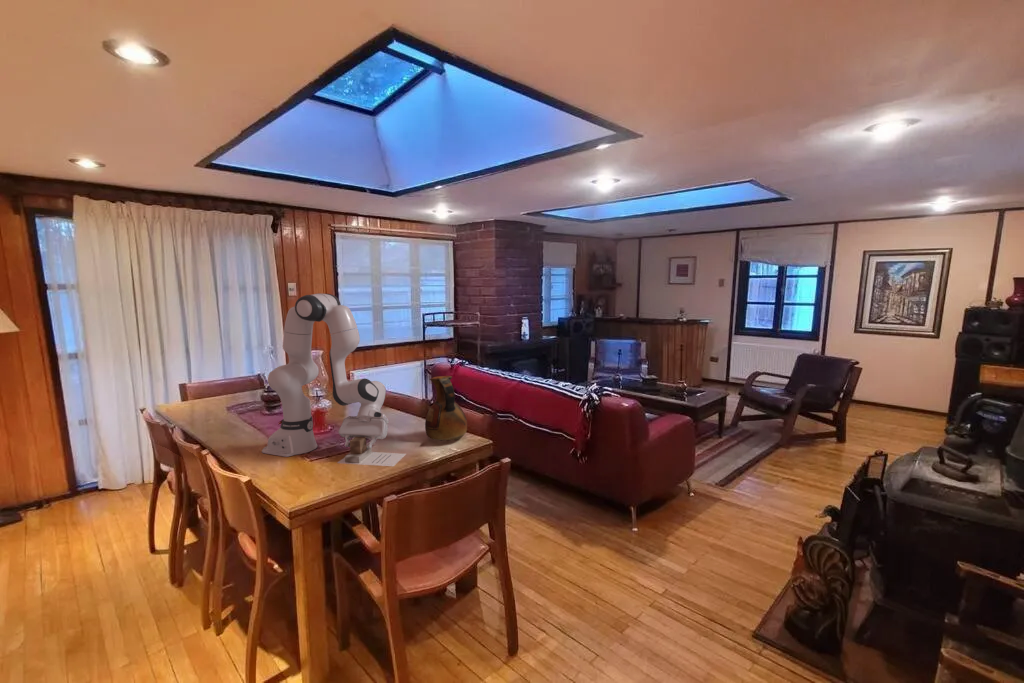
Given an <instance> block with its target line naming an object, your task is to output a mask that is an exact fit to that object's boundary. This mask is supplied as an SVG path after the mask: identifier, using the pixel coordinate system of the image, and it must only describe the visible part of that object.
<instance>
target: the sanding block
mask: <svg viewBox="0 0 1024 683" xmlns="http://www.w3.org/2000/svg"><path fill="white" fill-rule="evenodd" d="M349 442H350V447H349V449H350V450H349V451H350V452H349V453H348V454H346V455H345V456H344V457H345V462H347V463H360V462H361V461H363V460H364V459H365V458H366V457H367V456H369V455H370V454H371V453H372V452H373V449H372V448H373V446H372V447H371V448H367V447H366V446H367V438H366V437H355V438H352V439H350V440H349Z"/></svg>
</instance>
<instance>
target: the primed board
mask: <svg viewBox="0 0 1024 683" xmlns="http://www.w3.org/2000/svg"><path fill="white" fill-rule="evenodd" d="M405 456H407V453H397V452H380V451H379V452H378V451H372V453H371V454H370V455H369V456H367V457H366V458H365V459H364V460H363V461H361V462H360V463H347V462H345V456H344V457H343V458H341V459H339V461H337V464H346V465H361V466H362V465H365V466H377V467H378V466H380V467H381V466H382V467H395V466H396V465H397V464H398V463H399V462H401V460H402V459H403V458H404V457H405Z"/></svg>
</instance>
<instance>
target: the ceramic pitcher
mask: <svg viewBox="0 0 1024 683" xmlns="http://www.w3.org/2000/svg"><path fill="white" fill-rule="evenodd" d="M452 378H453V376H452V375H441V376H440V375H439V376H434V377H432V378H429V380H430V381H431V382H432V384H434V387H435V391H436V400H435V402H434V403H433V404H432V405H431V406H430V408H429V410H428V411H427V414H426V416H425V420H424V421H425V422H424V429H425V434H426V436H427V438H429V439H431V440H436V441H451V440H459V439H461V438H463V437H464V436H465V434H466V433H467V431H468V420H467V416H466V414H465V411H464V410H463V408H462V407H461V406H460V405H459V403H457V402H456V401H455V395H456V394H455V389H454V386H453V383H452V381H451V379H452Z"/></svg>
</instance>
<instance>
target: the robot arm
mask: <svg viewBox="0 0 1024 683" xmlns="http://www.w3.org/2000/svg"><path fill="white" fill-rule="evenodd" d="M315 322H317V323H319V322H325V323H326V325H327V326H328V329H329V334H330V340H331V345H330V346H331V347H330V349H329V352H328V353H329V363H330V371H331V372H330V373H331V380H332V398H333V399H334V401H335V403H337V404H338V405H339V406H345V407H346V406H348V405H352V404H357V403H359V404H360V407H359V409H358V413H357V415H354V416H353V415H348V416H346V417H344V418H343V421H342V423H341V425H340V427H339V429H338V435H339V436H340V437H342V438H344V439H345V444H344V446H345V447H346V448H350V440H351V438H352V439H353V438H355V437H366V439H371V440H370V441H369V442H366V447H367V448H371V447H372V448H373V445H374V444H375V443H376V442H377V440H384V439H386V437H387V434H388V431H389V426H388V424H389V421H390V420H389V419H388V417H387V416H386V414H384V413H383V412H381V408H382V407H383V406H384V402H385V399H386V394H387V393H386V392H387V391H386V390H387V388H386V385H385V384H383V382H381V381H378V380H373V381H371V380H369V378H358V379H353V380H348V378H347V370H346V365H345V364H346V359H347V357H348V356H349V355H350V354H351V353H353V352H354V351H355V350H356V349H357V348H358V346H359V344H360V341H361V338H360V333H359V329H358V326H357V325H358V324H357V322H356V320H355V317H354V315H353V313H352V311H351V308H350V307H349V306H346V305H343V304H341V302H340V298H338V297H337V296H335V295H334V294H331V293H314V294H306V295H303V296H301V297H299V298H297V300H296V302H295V304H294V306H292V307H290V308H289V309H288V311H287V314H286V318H285V322H284V328H283V340H282V349H283V351H284V352H285V353H287V356H288V363H286V364H283V365H279V366H277V367H276V368H275V369H273V370H271V371H270V372H269V373H268V376H267V383H268V386H269V387H270V388H271V389H272V390H273V391H274V392H276V393H277V395H278V397H279V399H280V402H281V407H282V416H283V419H281V420H280V421H278V422H277V423H278V425H280V424H281V425H280V428H278V429H276V431H274V432H273V433H272V434H270V436H269V437H268V439H267V445H266V446H264V447H263V448H262V450H261V453H262V454H265V455H266V454H268V455H274V456H278V457H284V458H287V457H291V456H296V455H301V454H307V453H309V452H311V451H314V450H315V449H317V448H318V444H317V441H316V438H315V435H314V434H315V433H314V431H313V430H314V426H313V425H314V422H313V421H314V420H313V415H312V407H311V399H310V398H309V397H308V396H306V395H305V393H304V391H303V386H305V385H308V384H311V383H312V382H313V381H314V380H315V379H317V377H318V375H319V372H320V371H319V370H320V368H319V366H318V365H317V363H316V362H315V361H314V359H313V358H314V357H313V355H312V343H313V331H314V330H313V329H314V324H315Z"/></svg>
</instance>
